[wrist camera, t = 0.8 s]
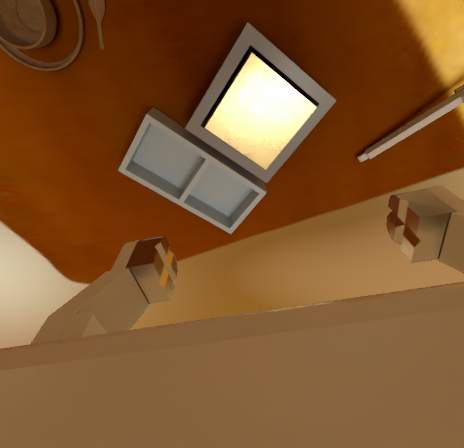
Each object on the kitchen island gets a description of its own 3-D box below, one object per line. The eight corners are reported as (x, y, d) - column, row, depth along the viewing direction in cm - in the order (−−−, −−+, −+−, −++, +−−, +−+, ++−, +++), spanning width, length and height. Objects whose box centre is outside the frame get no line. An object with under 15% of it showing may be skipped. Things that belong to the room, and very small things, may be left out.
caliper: (500, 47, 35) (547, 48, 30) (502, 55, 35) (550, 57, 30) (356, 156, 43) (373, 172, 37) (359, 161, 43) (377, 178, 38)
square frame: (246, 23, 34) (247, 22, 30) (327, 94, 38) (336, 100, 35) (188, 120, 40) (184, 128, 37) (264, 172, 45) (266, 183, 41)
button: (250, 50, 34) (252, 52, 31) (309, 100, 37) (316, 107, 34) (206, 120, 39) (204, 127, 35) (262, 159, 42) (265, 169, 39)
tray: (126, 160, 44) (118, 170, 40) (153, 107, 39) (146, 113, 36) (230, 220, 50) (230, 234, 47) (264, 181, 46) (266, 192, 42)
